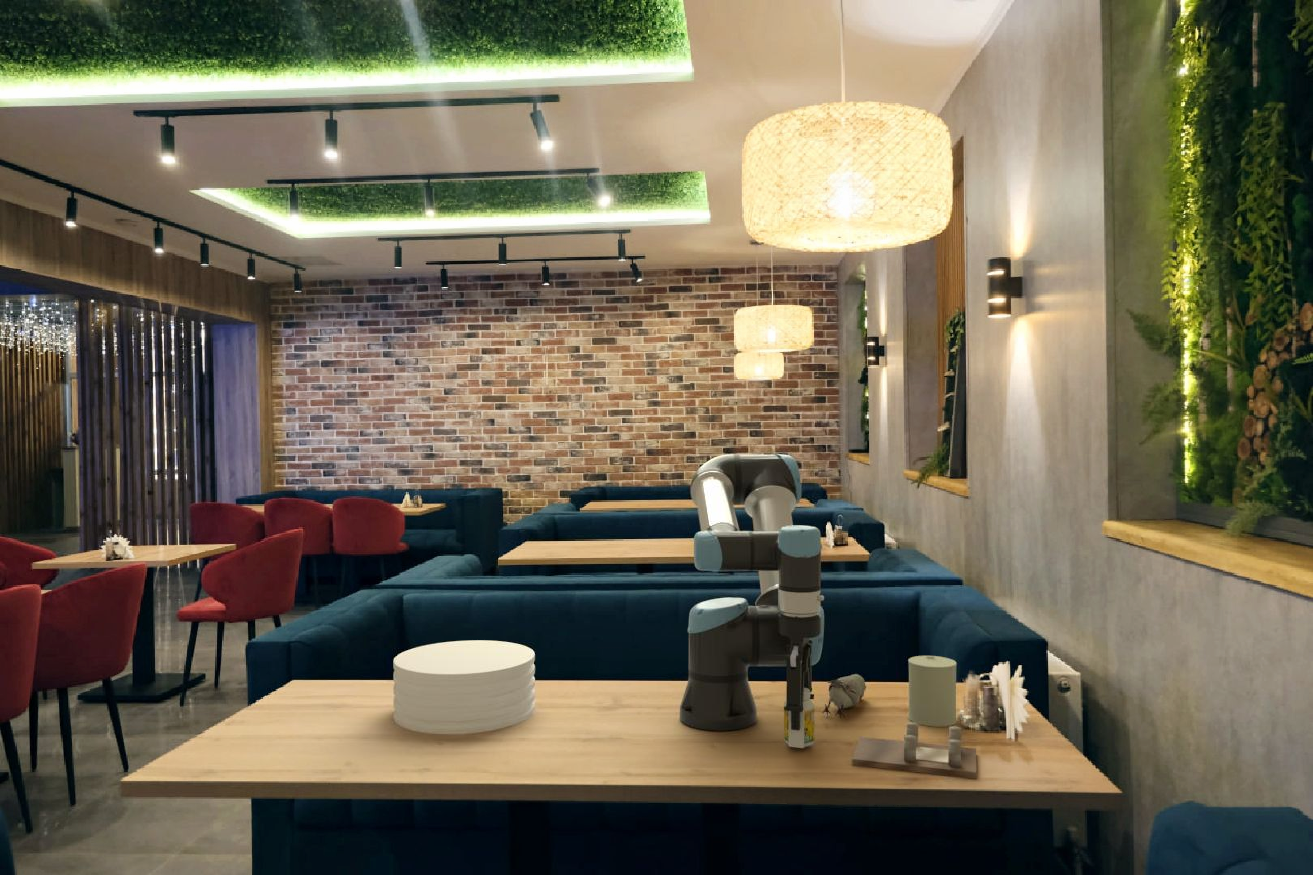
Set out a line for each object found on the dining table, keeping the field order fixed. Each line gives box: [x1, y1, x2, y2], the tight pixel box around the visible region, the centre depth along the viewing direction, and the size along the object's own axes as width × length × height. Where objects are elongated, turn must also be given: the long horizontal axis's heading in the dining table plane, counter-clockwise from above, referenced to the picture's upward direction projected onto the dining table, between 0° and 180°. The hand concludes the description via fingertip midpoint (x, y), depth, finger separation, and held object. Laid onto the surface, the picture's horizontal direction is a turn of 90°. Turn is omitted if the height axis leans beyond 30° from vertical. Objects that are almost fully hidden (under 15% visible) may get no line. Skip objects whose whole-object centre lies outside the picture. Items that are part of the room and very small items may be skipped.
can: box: [907, 655, 958, 728], centre depth 184 cm, size 9×9×12 cm
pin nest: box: [851, 721, 977, 780], centre depth 162 cm, size 20×12×5 cm, turn 71°
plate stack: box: [392, 639, 536, 735], centre depth 190 cm, size 28×28×12 cm
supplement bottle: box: [783, 688, 815, 748], centre depth 169 cm, size 5×5×10 cm
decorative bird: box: [821, 673, 867, 719], centre depth 192 cm, size 5×16×8 cm, turn 147°
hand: (799, 740), depth 169 cm, fingers closed on supplement bottle, 5 cm apart
